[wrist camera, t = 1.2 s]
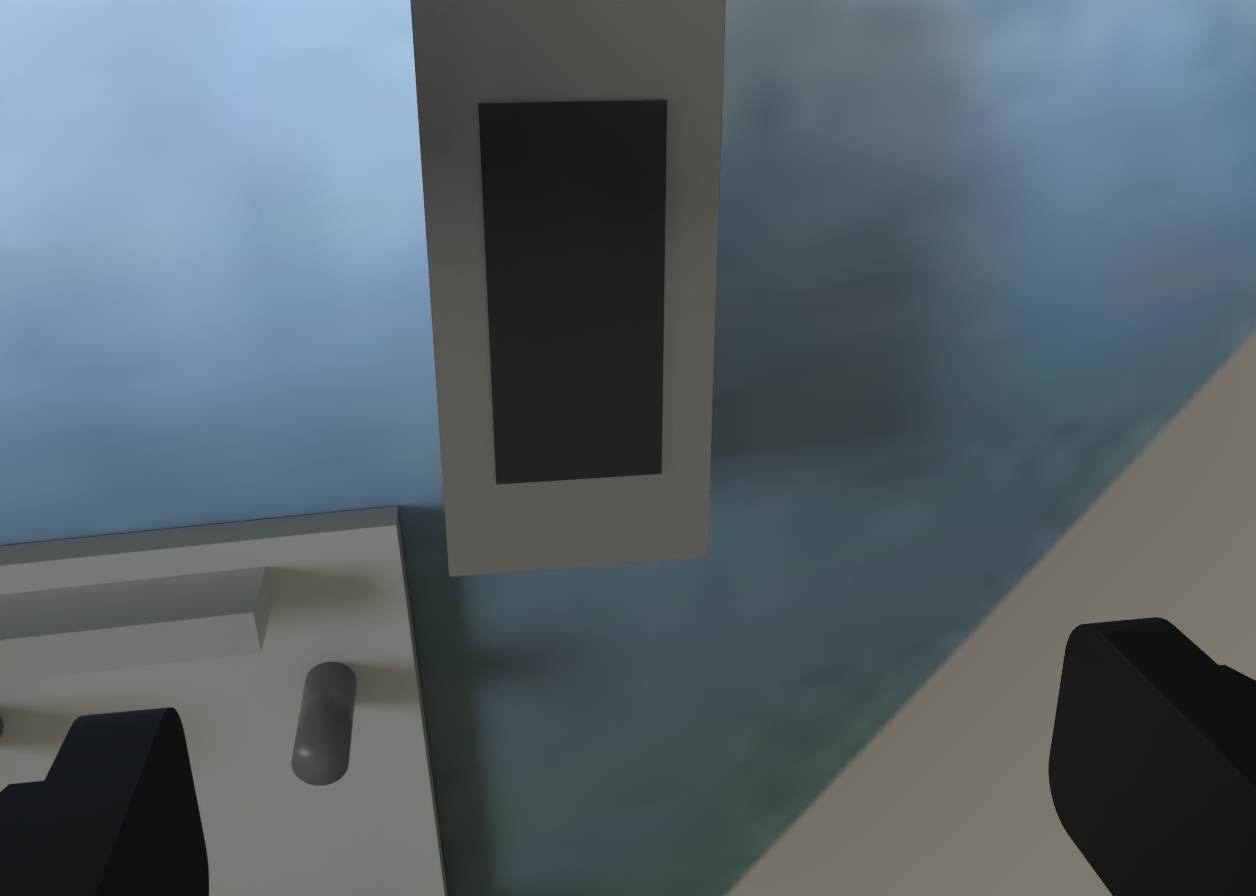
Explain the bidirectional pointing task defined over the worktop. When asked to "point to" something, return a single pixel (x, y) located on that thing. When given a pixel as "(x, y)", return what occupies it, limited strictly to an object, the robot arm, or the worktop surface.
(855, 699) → the worktop surface
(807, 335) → the worktop surface
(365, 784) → the tray
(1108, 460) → the worktop surface
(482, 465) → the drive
